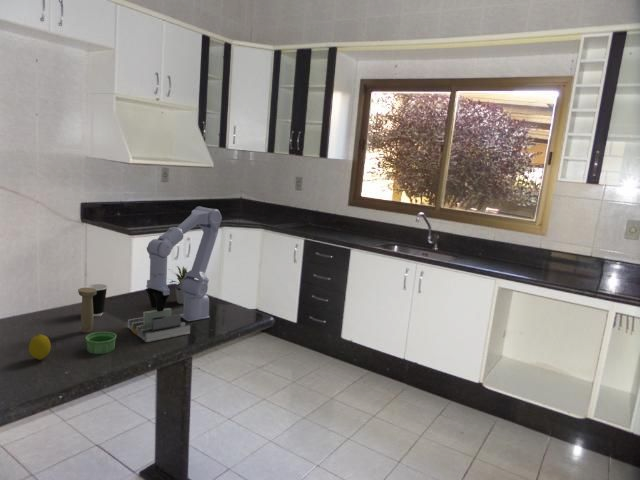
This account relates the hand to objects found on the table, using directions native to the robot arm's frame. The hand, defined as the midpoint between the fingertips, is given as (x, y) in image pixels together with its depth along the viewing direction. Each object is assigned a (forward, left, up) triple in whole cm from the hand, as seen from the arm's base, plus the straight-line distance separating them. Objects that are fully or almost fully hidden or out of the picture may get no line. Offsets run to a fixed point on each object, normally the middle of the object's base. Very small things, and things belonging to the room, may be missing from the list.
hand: (157, 309), depth 170 cm
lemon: (+39, +7, -8) cm, 40 cm away
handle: (+21, -9, -8) cm, 24 cm away
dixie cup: (+13, -25, -8) cm, 29 cm away
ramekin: (+22, +8, -8) cm, 25 cm away
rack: (0, +2, -8) cm, 8 cm away
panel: (0, 0, -7) cm, 7 cm away
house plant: (-22, -25, -8) cm, 34 cm away
